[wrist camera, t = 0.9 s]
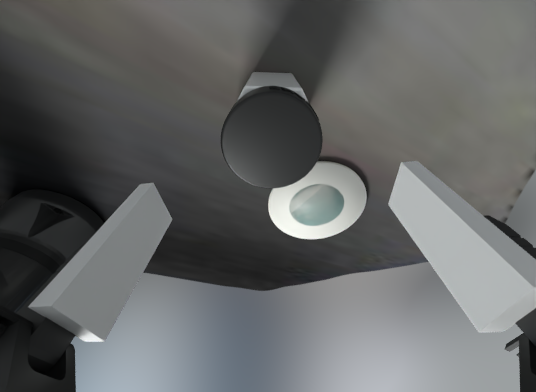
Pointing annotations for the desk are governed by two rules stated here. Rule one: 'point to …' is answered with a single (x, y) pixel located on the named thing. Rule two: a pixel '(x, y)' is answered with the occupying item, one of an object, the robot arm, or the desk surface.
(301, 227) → the plate
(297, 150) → the jar
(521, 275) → the robot arm
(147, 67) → the desk surface
